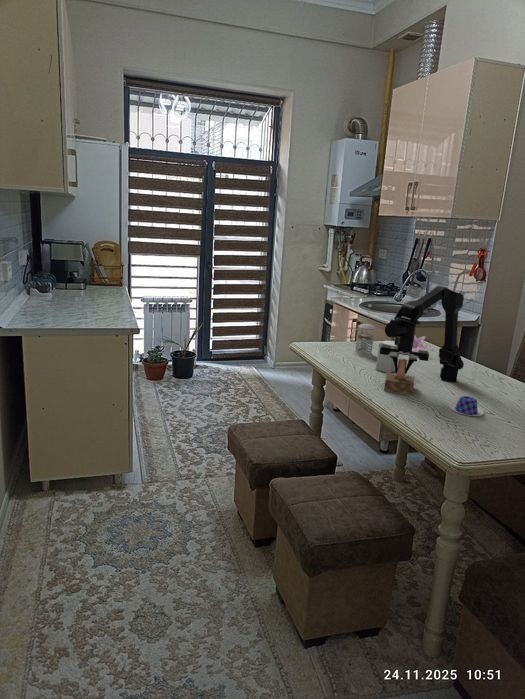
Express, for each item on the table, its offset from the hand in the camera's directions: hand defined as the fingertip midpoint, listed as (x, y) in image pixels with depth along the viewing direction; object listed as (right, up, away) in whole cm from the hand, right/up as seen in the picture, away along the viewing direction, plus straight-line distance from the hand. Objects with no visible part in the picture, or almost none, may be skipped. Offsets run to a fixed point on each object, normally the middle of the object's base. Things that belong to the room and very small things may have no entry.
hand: (400, 373), depth 215 cm
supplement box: (0, 0, +27) cm, 27 cm away
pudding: (+20, -14, -16) cm, 29 cm away
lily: (+22, +7, +59) cm, 64 cm away
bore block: (-1, -6, +2) cm, 7 cm away
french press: (-7, +7, +50) cm, 51 cm away
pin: (0, -3, +1) cm, 3 cm away
